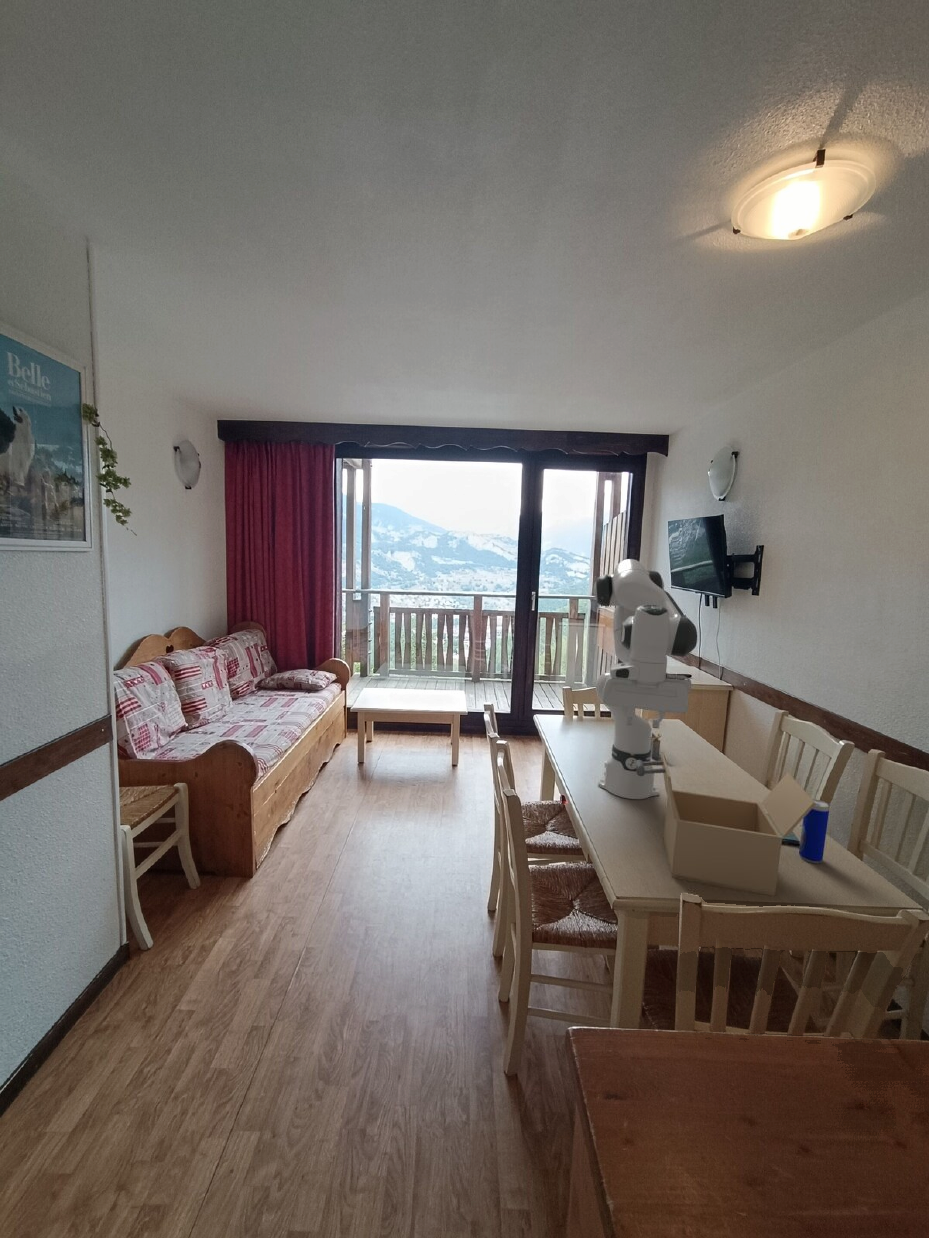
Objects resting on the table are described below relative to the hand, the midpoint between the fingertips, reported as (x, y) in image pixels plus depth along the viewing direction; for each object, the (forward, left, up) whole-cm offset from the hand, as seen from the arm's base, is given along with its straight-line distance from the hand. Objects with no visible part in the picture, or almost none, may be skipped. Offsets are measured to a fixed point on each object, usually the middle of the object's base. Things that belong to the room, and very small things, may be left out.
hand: (641, 725), depth 133 cm
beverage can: (-12, +45, -33) cm, 57 cm away
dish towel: (-26, +33, -34) cm, 54 cm away
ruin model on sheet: (-77, +11, -34) cm, 84 cm away
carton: (0, +20, -33) cm, 38 cm away
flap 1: (0, +8, -14) cm, 16 cm away
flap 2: (0, +34, -14) cm, 37 cm away
